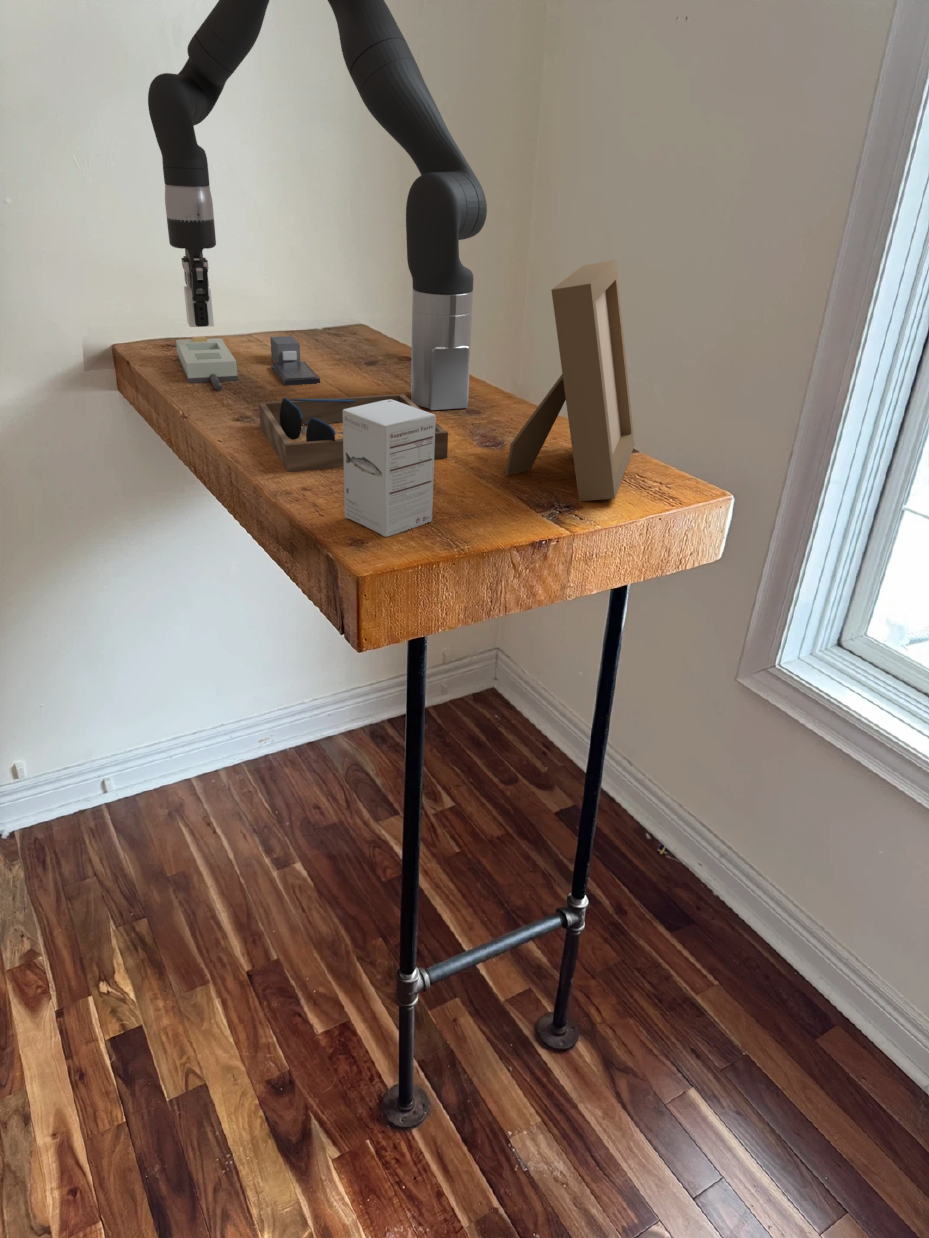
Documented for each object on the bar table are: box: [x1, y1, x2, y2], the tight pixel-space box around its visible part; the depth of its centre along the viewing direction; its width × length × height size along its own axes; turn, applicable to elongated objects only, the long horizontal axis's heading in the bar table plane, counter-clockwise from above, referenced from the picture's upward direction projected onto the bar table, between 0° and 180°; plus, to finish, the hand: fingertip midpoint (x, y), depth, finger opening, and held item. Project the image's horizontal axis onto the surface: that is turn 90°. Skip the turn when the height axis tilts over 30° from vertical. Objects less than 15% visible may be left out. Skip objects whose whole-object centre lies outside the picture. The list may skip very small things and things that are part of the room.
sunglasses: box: [280, 397, 356, 442], centre depth 123 cm, size 17×15×5 cm
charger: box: [183, 285, 215, 328], centre depth 153 cm, size 4×4×6 cm
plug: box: [269, 335, 301, 363], centre depth 161 cm, size 7×4×4 cm, turn 23°
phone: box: [270, 361, 321, 386], centre depth 154 cm, size 12×6×1 cm, turn 21°
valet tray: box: [258, 393, 449, 473], centre depth 123 cm, size 20×22×4 cm
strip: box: [175, 335, 239, 391], centre depth 152 cm, size 24×8×4 cm, turn 21°
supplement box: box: [342, 399, 437, 538], centre depth 97 cm, size 7×7×13 cm
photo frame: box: [504, 259, 635, 502], centre depth 111 cm, size 15×22×25 cm
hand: (200, 322), depth 154 cm, fingers closed on charger, 4 cm apart
